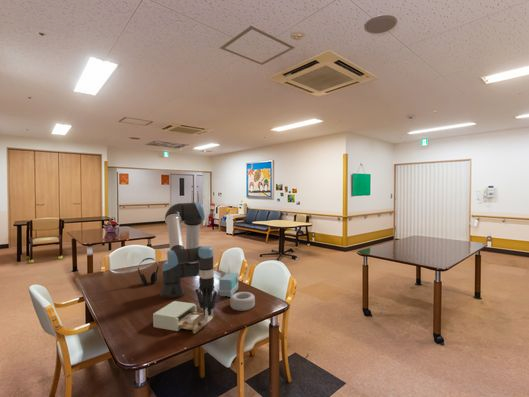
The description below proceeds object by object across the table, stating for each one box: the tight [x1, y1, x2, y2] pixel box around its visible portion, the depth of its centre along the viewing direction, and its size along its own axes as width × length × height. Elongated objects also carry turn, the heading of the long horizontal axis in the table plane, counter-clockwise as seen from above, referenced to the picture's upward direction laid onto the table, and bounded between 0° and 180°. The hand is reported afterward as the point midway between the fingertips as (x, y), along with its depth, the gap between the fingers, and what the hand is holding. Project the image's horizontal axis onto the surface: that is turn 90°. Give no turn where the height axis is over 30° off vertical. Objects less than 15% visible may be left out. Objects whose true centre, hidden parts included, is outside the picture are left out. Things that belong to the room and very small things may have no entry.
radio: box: [218, 270, 239, 298], centre depth 197 cm, size 16×9×20 cm, turn 167°
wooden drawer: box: [178, 309, 214, 334], centre depth 154 cm, size 16×18×6 cm
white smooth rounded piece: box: [186, 315, 199, 324], centre depth 154 cm, size 8×8×2 cm
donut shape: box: [229, 291, 256, 312], centre depth 176 cm, size 15×15×7 cm
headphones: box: [137, 257, 159, 286], centre depth 220 cm, size 9×15×20 cm, turn 123°
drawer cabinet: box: [152, 300, 198, 332], centre depth 157 cm, size 15×18×7 cm
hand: (207, 321), depth 151 cm, fingers closed
